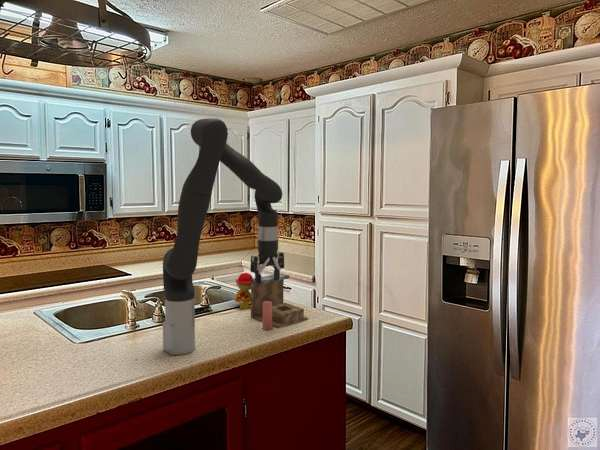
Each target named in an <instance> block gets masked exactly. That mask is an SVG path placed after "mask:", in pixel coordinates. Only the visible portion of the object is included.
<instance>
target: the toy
mask: <svg viewBox="0 0 600 450" xmlns="http://www.w3.org/2000/svg"><path fill="white" fill-rule="evenodd" d="M251 279H254V276H252V274H251V273H248V272H243V273H241V274H239V276H238V278H237V279H236V280H235V281H234V282H235V283H237V287H238V289H239V290H237V292H236V294H235V297H234V301H235V302H237V303H238V304H239V309H240V310H247V309H248V308H249V307H250V303H251Z"/></svg>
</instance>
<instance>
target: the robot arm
mask: <svg viewBox="0 0 600 450" xmlns="http://www.w3.org/2000/svg"><path fill="white" fill-rule="evenodd" d="M228 135H229V130H228V127H227V124H226V123H225V122H224V121H223V120H222V119H220V118H215V117H214V118H212V117H211V118H210V117H209V118H201V119H198V120H196V121H194V122H193V124H192V125H191V127H190V136H191V138H192V141H193V142H194V144H196V145H197V146H199V152H198V155H197V159H196V161H195V163H194V166H193V167H192V169H191V171H190V172H189V174H188V175H187V177H186V178H185V180H184V183H183V185H182V188H181V192H180V196H179V200H178V201H179V202H178V207H177V232H176V237H175V240H174V244H173V247H172V248H170V249H168V250H167V251H166V253H165V254H164V256H163V258H162V259H163V260H162V278H163V279H162V280H163V291H164V311H165V312H164V317H165V319H164V321H162V350H163V352H166V353H167V354H169V355H170V356H177V355H178V356H179V355H185V354H190V353H192V352H193V351H195V350H196V320H195V319H196V318H195V317H196V313H195V311H196V307H195V304H196V303H195V299H196V298H195V297H196V296H195V287H194V282H193V274H194V273H195V270H196V269H197V265H198V256H199V247H200V243H201V242H200V240H201V236H202V232H203V230H204V226H205V222H206V219H207V215H208V211H209V208H210V205H211V198H212V195H213V188H214V185H215V182H216V181H215V180H216V177H217V173H218V167H219V164H220V163H222V164H223V165H224V166H225V167H227V168H228V169H229V170H230V171H231V173H233V174H234V175H235V176H236V177H237V178H238V179H239V180H240V181H241V182H242V183H243V184H244V185H246V186H247V188H250V190H251V189H252V190H255V191H254V200H255V201H254V202H255V207H256V209H257V210H256V211H257V213H258V214H257V215H258V228H257V253H258V255H251V256H250V272H251V273H253V274H254V278H255V282H256V283H257V284H261V277H262V272H263V270H265V268H266V267H269V266H271V267H272V268H273V269H274V270H273V275H274V280H276V281H278V280H279V278H280V274H281V270H282V269H284V268H285V253H284V252H281V251H279V219H278V218H279V216H278V215H279V213H278V212H277V210H275V209H274V208H273V207H272V204H277V203H279V202H280V201H281V200H282V198H283V191H282V187H280V185H279V184H278V183H277V182H276V181H274V179H272V178H270V177H269V176H267V175H266V174H265V173H263V172H262V171H261V170H260V169H259V168H258V167H257V165H255V164H254V163H253V161H251V160H250V159H249V158H248V157H246V156H245V155H243V154H241V152H238V151H237V150H235V149H234V148H232V146H230V145H229V144H228V143H227V141H228Z"/></svg>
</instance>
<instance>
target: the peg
mask: <svg viewBox="0 0 600 450" xmlns="http://www.w3.org/2000/svg"><path fill="white" fill-rule="evenodd" d="M272 329H273V326H272V302H271V301H264V302H263V322H262V330H263V331H270V330H272Z"/></svg>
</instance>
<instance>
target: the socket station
mask: <svg viewBox="0 0 600 450" xmlns="http://www.w3.org/2000/svg"><path fill="white" fill-rule="evenodd" d="M288 279H290V274H285V273H281V272H280V278H279V280H278V281H276V280H274V274H271V275H266V276H265V275H263V276H261V284H257V283H256V282H255V277H253V279H251V289H250V294H251V301H250V318H251V319H253V320H256V321H259V322H261V323H263V302H264V301H271V302H272V328H275V327H276V329H280V327H281V328H284V327H288V326H291V325H294V324H297V323H301V322H304V321H307V320H309V317H308V316H305V308H303V307H300V306H296V305H294V304H290V303H288V302H284V290H285V289H284V284H285V283H284V280H288Z"/></svg>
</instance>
